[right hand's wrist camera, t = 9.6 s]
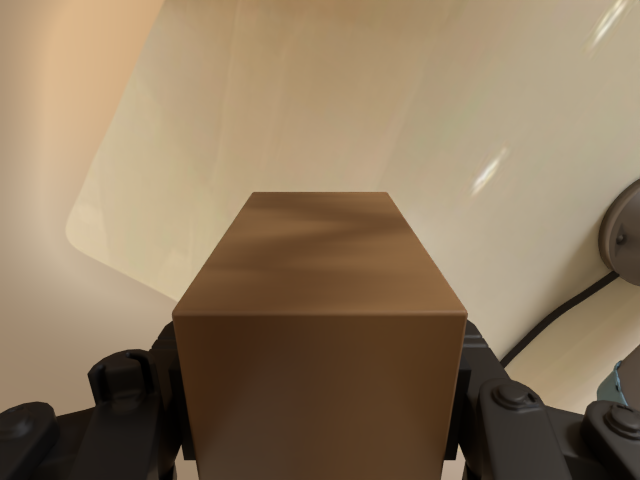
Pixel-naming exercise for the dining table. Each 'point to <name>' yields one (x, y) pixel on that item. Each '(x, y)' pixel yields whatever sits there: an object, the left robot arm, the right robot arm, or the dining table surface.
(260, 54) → the dining table surface
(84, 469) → the right robot arm
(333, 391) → the brick
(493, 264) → the dining table surface
